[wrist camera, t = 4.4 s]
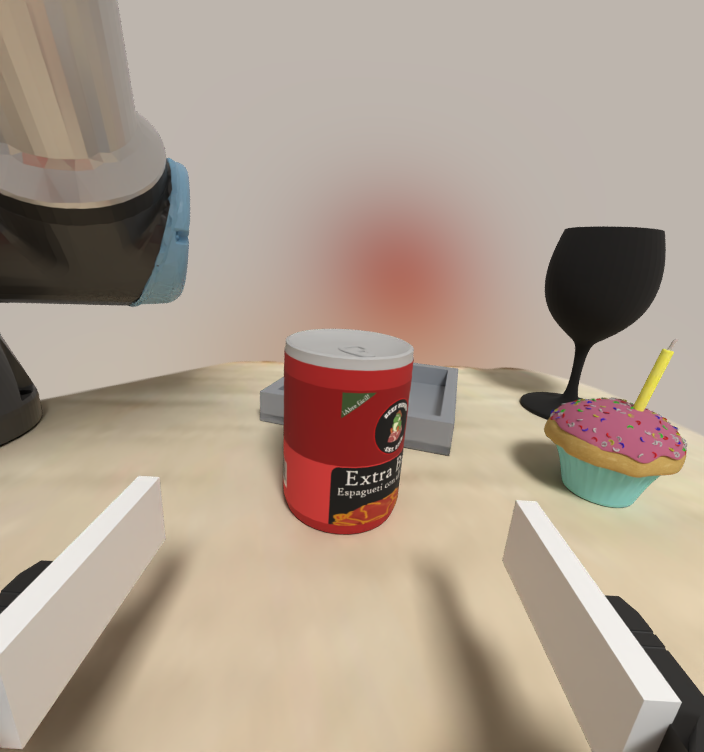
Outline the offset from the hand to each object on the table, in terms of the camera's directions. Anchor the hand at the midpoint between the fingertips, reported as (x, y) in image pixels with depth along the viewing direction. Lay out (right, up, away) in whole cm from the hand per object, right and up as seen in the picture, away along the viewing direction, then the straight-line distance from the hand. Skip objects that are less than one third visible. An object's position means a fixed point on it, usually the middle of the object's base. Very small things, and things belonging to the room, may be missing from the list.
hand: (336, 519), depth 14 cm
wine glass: (+26, +1, +31) cm, 41 cm away
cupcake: (+19, -4, +15) cm, 25 cm away
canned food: (0, -3, +12) cm, 12 cm away
